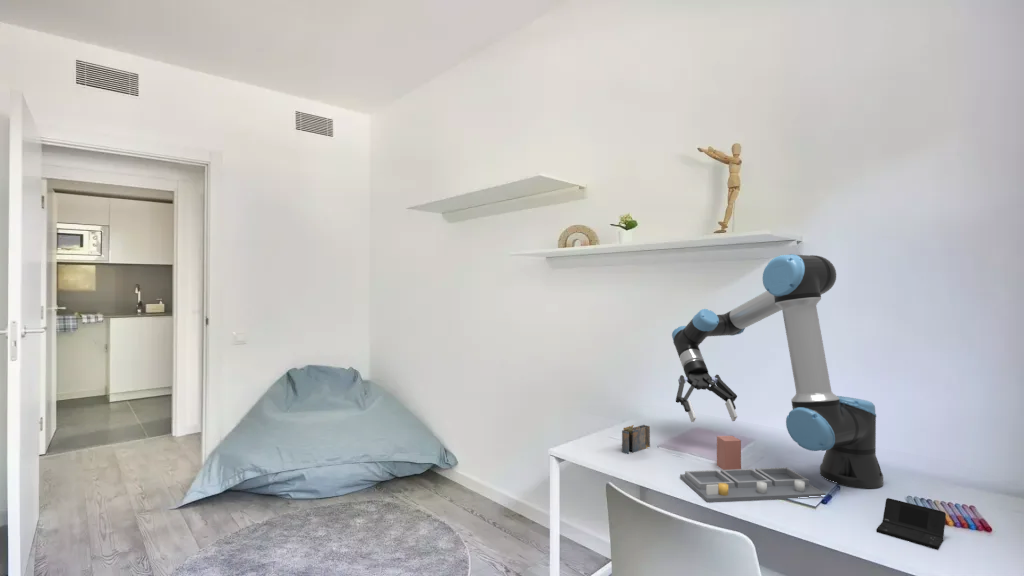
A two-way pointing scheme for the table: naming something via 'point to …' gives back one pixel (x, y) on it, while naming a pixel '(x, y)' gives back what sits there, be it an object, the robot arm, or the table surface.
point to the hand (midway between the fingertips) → (714, 419)
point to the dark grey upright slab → (635, 438)
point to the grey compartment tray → (749, 484)
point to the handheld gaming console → (913, 523)
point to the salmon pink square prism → (728, 452)
